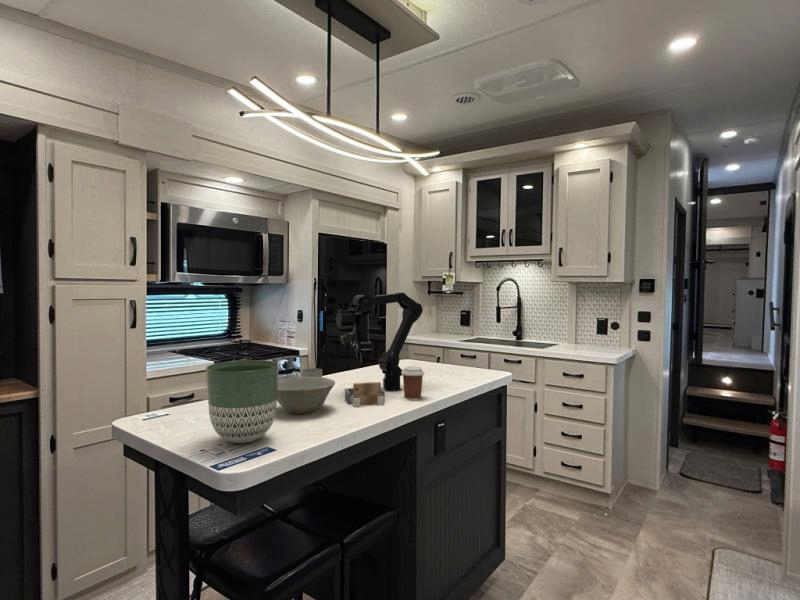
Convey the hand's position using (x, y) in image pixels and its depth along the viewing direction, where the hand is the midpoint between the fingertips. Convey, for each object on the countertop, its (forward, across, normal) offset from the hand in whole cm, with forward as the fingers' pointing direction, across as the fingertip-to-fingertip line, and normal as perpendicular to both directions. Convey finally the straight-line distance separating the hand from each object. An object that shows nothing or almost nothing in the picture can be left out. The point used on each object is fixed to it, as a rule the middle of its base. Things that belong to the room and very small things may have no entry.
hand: (361, 364), depth 192 cm
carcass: (+12, +14, -1) cm, 19 cm away
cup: (+12, -2, -20) cm, 24 cm away
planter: (+12, +49, -43) cm, 66 cm away
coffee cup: (+12, +13, +18) cm, 25 cm away
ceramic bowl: (+12, +21, -25) cm, 35 cm away
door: (+12, +18, -1) cm, 22 cm away
